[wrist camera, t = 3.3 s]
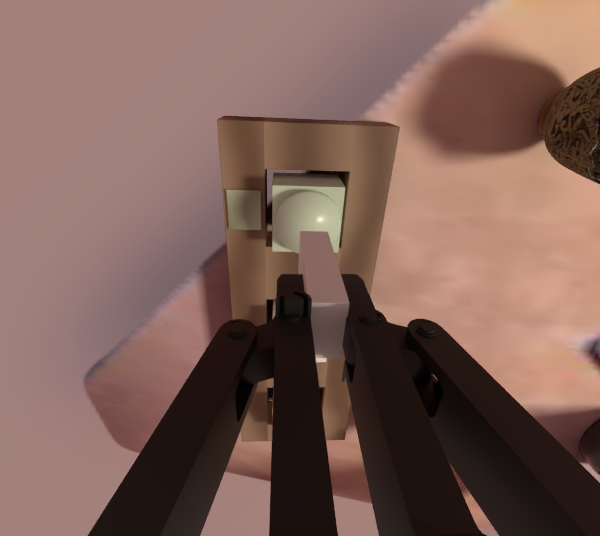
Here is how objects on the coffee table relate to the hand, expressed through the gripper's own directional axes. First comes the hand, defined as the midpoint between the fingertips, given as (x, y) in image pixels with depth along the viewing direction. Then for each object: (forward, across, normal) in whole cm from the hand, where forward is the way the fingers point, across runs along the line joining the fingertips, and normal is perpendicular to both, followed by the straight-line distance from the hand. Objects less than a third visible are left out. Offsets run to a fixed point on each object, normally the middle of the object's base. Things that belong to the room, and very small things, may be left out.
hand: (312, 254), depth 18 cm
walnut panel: (+10, 0, +11) cm, 15 cm away
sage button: (+9, 0, 0) cm, 9 cm away
